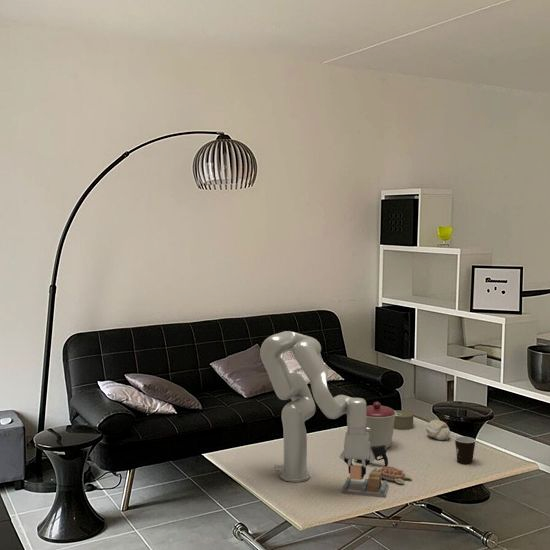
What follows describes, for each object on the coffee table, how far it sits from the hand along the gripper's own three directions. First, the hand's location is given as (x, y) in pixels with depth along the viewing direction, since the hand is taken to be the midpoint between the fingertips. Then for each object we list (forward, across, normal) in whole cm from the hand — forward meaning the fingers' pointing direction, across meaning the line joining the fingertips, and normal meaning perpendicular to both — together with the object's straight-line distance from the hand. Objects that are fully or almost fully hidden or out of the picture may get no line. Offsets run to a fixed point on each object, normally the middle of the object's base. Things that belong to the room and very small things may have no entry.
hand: (357, 475), depth 280 cm
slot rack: (+6, -3, 0) cm, 6 cm away
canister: (+6, 0, -53) cm, 53 cm away
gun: (+6, -1, -29) cm, 30 cm away
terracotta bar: (+1, 0, +2) cm, 2 cm away
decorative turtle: (+6, -11, -15) cm, 20 cm away
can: (+6, -8, -87) cm, 88 cm away
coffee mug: (+6, -40, -44) cm, 60 cm away
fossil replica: (+6, -27, -73) cm, 78 cm away
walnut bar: (+5, -7, -1) cm, 8 cm away
